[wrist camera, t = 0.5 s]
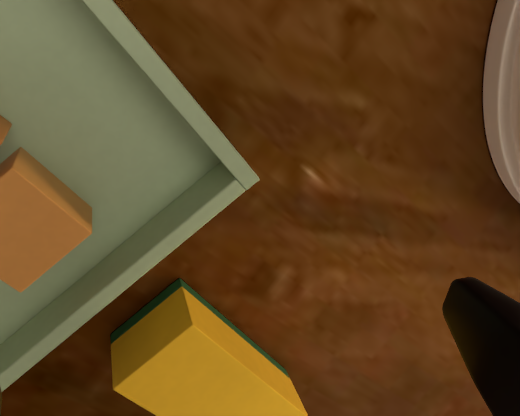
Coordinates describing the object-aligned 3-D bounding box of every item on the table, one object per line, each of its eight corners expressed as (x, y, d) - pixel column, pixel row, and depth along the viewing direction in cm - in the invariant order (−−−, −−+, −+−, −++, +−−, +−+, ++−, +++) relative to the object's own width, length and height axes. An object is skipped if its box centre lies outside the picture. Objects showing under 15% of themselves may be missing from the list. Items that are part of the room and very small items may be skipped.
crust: (27, 262, 22) (20, 293, 19) (-51, 207, 19) (-69, 235, 17) (92, 207, 21) (92, 233, 19) (20, 146, 19) (11, 167, 17)
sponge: (228, 415, 31) (245, 469, 28) (109, 334, 25) (112, 389, 22) (285, 369, 31) (309, 418, 28) (179, 277, 25) (192, 324, 22)
